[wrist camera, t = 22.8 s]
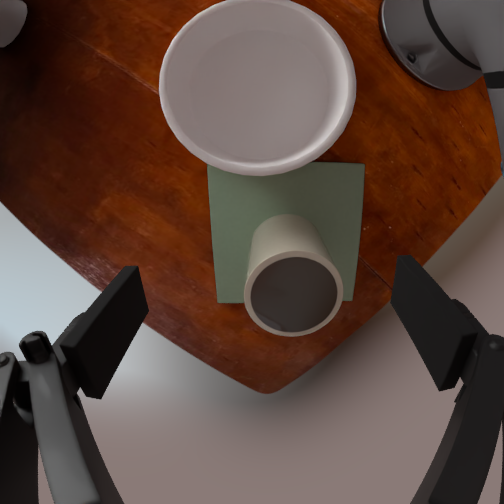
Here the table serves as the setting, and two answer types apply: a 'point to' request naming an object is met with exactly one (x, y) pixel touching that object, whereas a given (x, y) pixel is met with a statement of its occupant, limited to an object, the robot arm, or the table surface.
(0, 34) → the cup
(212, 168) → the mat
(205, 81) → the bowl
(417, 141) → the table surface
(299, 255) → the tumbler
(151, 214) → the table surface
